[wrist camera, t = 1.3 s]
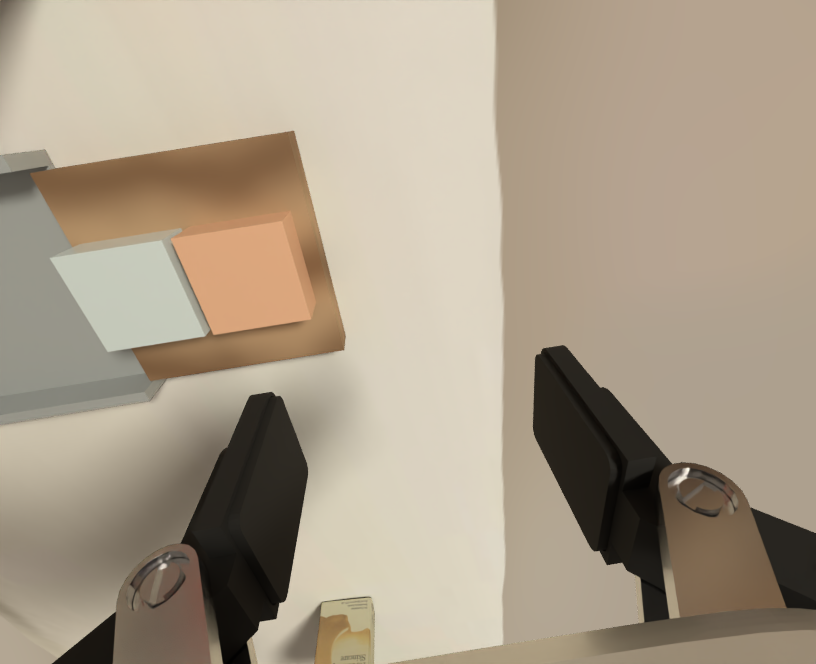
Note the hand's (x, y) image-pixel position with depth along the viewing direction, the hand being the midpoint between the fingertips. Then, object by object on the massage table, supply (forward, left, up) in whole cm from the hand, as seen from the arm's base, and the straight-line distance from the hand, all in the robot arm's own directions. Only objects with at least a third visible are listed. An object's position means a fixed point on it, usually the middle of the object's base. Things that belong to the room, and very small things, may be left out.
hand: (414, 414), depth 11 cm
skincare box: (+45, -13, -18) cm, 50 cm away
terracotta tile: (0, -9, -16) cm, 18 cm away
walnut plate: (0, -12, -18) cm, 21 cm away
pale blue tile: (0, -15, -16) cm, 22 cm away
